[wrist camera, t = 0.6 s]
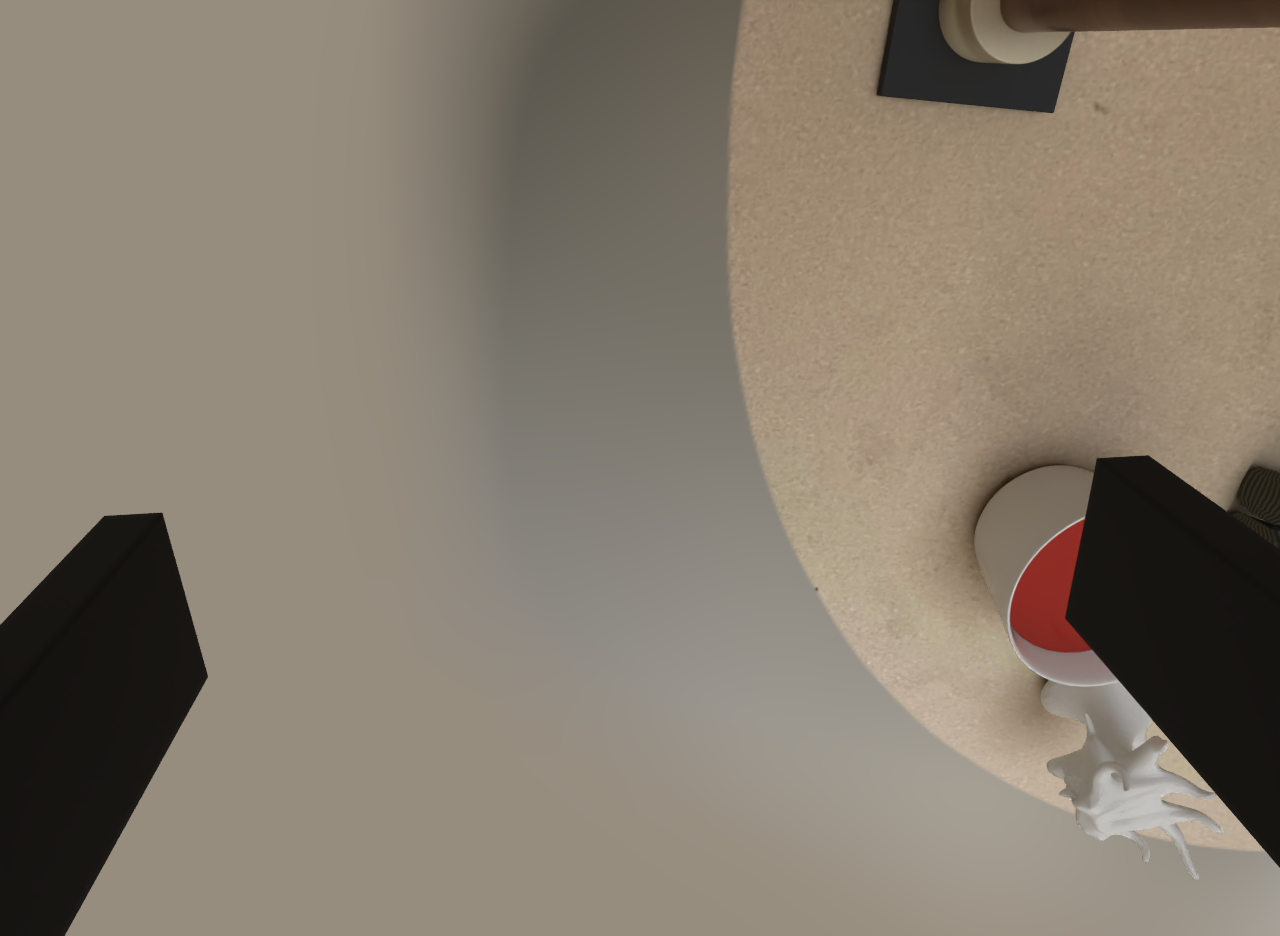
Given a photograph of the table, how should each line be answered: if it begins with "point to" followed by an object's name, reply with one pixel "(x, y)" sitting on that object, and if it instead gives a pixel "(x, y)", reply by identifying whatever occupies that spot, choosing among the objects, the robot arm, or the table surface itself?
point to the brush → (1081, 22)
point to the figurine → (1119, 769)
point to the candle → (1039, 570)
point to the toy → (1261, 503)
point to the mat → (961, 67)
